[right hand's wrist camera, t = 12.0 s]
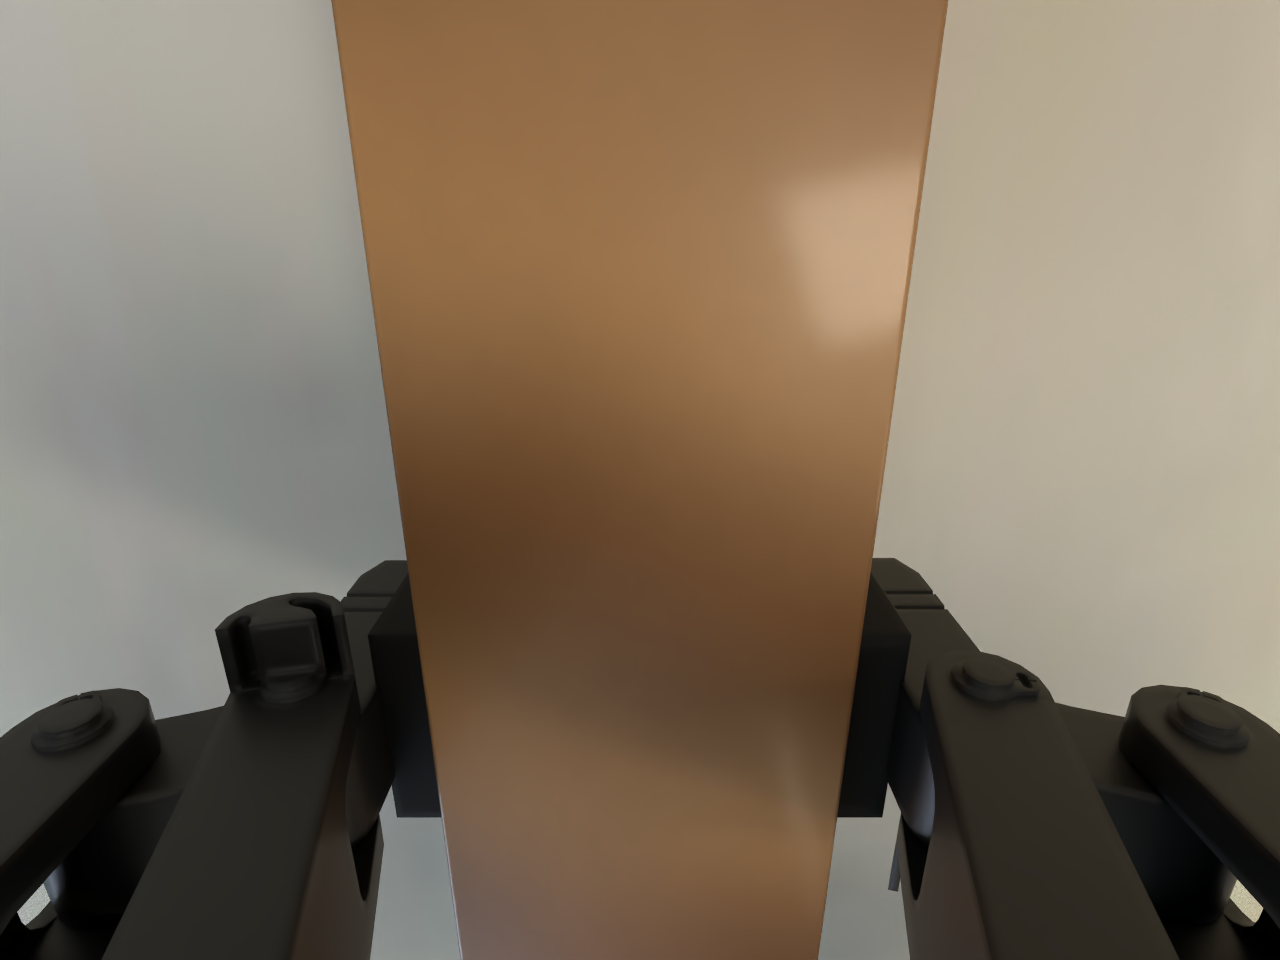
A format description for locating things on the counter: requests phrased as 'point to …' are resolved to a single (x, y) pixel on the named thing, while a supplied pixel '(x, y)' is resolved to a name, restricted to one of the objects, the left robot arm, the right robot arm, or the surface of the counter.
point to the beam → (639, 437)
